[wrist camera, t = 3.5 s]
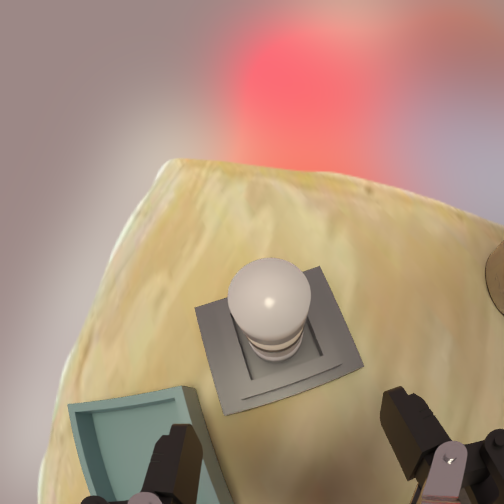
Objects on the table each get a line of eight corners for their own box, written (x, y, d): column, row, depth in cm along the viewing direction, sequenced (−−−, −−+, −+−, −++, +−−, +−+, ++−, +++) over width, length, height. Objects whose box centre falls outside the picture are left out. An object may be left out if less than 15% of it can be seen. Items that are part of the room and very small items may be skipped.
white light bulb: (291, 308, 24) (293, 247, 15) (308, 353, 22) (323, 317, 13) (244, 324, 24) (218, 272, 15) (259, 370, 21) (240, 346, 13)
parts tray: (195, 388, 22) (181, 385, 19) (235, 508, 16) (227, 522, 13) (89, 407, 21) (67, 404, 18) (120, 512, 15) (100, 521, 12)
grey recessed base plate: (318, 270, 26) (321, 257, 24) (361, 367, 21) (369, 363, 19) (197, 311, 26) (189, 301, 24) (226, 415, 21) (220, 416, 18)
